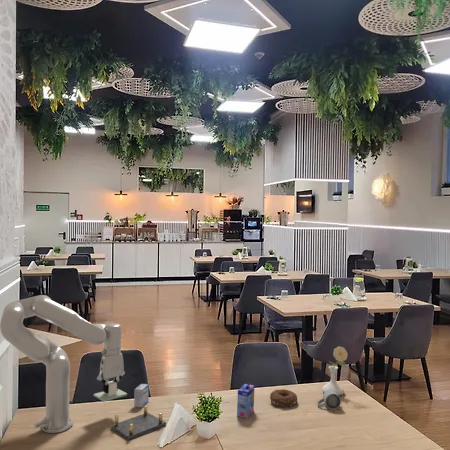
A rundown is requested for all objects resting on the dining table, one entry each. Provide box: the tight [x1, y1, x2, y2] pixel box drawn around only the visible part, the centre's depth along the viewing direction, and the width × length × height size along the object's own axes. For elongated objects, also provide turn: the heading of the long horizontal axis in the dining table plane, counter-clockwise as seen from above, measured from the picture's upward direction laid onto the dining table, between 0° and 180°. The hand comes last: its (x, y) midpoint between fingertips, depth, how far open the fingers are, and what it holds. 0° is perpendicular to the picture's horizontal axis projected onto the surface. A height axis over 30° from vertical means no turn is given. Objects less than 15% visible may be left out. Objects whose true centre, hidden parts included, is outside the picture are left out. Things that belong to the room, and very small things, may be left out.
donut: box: [269, 388, 298, 407], centre depth 218 cm, size 14×14×5 cm
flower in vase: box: [321, 346, 349, 396], centre depth 231 cm, size 13×11×25 cm
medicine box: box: [133, 383, 149, 409], centre depth 215 cm, size 8×4×9 cm, turn 168°
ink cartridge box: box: [236, 381, 256, 419], centre depth 205 cm, size 10×6×14 cm, turn 158°
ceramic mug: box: [316, 390, 342, 411], centre depth 214 cm, size 11×8×8 cm
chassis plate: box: [110, 404, 167, 441], centre depth 190 cm, size 19×14×6 cm
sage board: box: [93, 380, 128, 403], centre depth 200 cm, size 12×9×6 cm
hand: (110, 391), depth 200 cm, fingers closed on sage board, 4 cm apart
